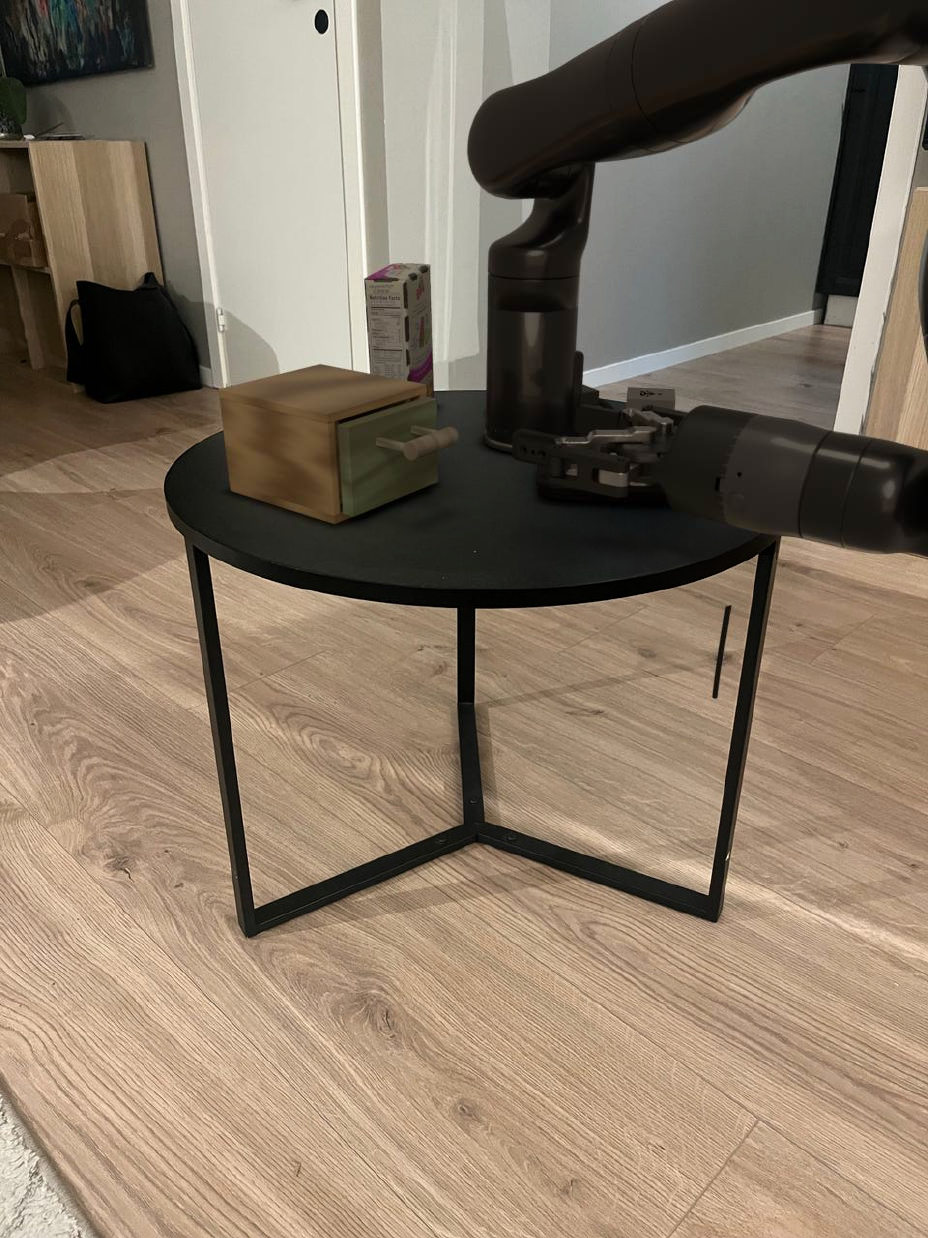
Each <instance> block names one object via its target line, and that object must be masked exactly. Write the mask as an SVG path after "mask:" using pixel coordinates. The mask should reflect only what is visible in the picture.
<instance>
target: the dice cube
mask: <svg viewBox="0 0 928 1238" xmlns="http://www.w3.org/2000/svg"><path fill="white" fill-rule="evenodd" d="M625 401H626V402H625V409H628V408H634V409H636V410H639V411H640V412H642V406H646V405H653V406H657V407H663V408H668V409H673V410H676V389H675V388H661V387H660V388H657V387H637V386H635V387H634V386H627V392H626V400H625Z"/></svg>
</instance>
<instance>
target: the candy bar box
mask: <svg viewBox="0 0 928 1238" xmlns="http://www.w3.org/2000/svg"><path fill="white" fill-rule="evenodd" d="M431 265H432V264H428V263H413V262H412V263H411V262H410V263H408V262H407V263H403V262H398V263H391V264H389V265H387V266H385V267H383V268H381V269H379V270H378V271H376V272H373V273H372V274H370V275H368V276H366V277H364V278H363V284H364V286H363V287H364V297H365V300H364V302H365V304H364V305H365V319H366V335H367V347H368V362H369V363H368V365H369V374H374V375H379V376H384V377H390V378H395V379H400V380H405V381H410V382H415V383H420V384H426V394H427V397H430V398H435V383H434V381H435V378H434V377H435V375H434V347H433V345H434V344H433V342H434V341H433V340H434V339H433V313H432V312H433V310H432V281H431V279H432V278H431Z"/></svg>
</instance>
